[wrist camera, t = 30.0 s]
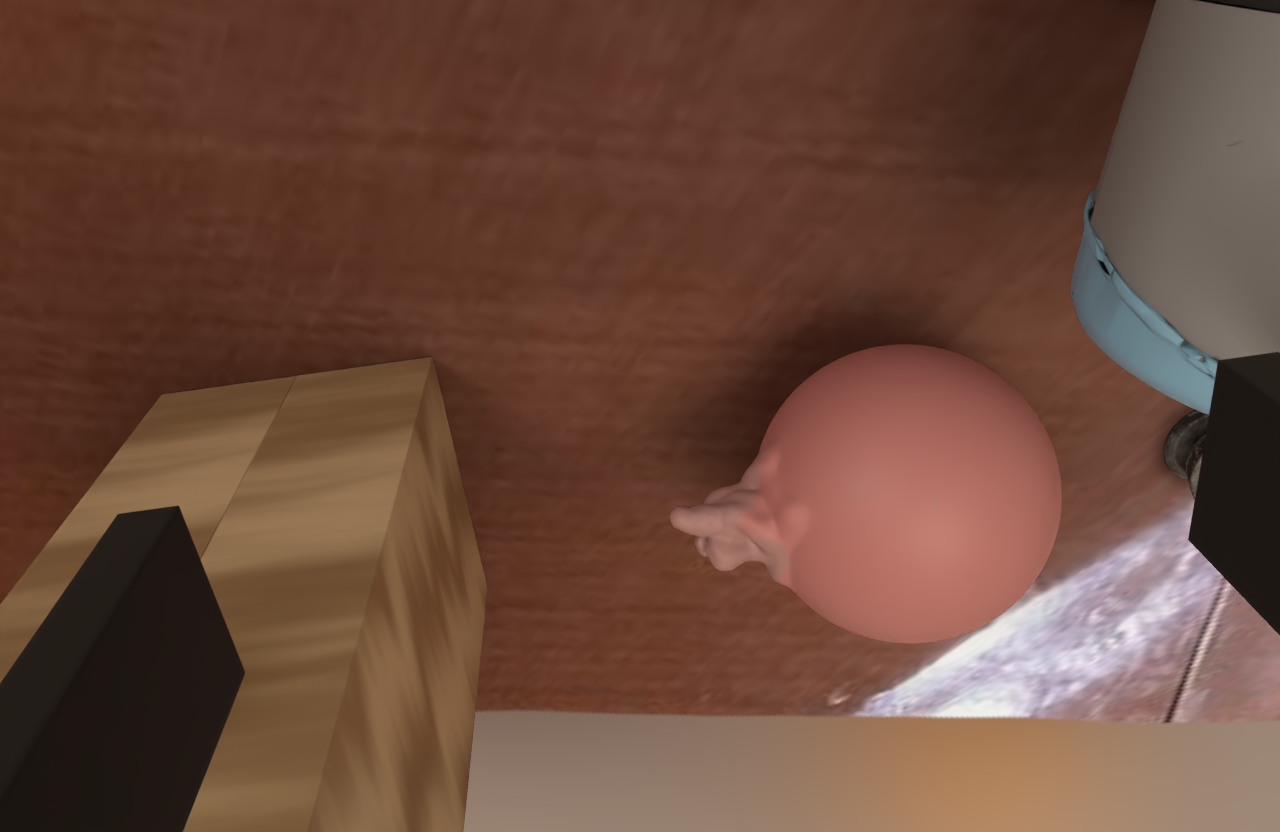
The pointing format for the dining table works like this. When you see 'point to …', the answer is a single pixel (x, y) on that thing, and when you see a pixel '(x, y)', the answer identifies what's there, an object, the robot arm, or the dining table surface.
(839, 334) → the dining table surface
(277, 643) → the step stand
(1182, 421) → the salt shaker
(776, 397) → the dining table surface
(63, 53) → the dining table surface
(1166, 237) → the robot arm
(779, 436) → the balloon
